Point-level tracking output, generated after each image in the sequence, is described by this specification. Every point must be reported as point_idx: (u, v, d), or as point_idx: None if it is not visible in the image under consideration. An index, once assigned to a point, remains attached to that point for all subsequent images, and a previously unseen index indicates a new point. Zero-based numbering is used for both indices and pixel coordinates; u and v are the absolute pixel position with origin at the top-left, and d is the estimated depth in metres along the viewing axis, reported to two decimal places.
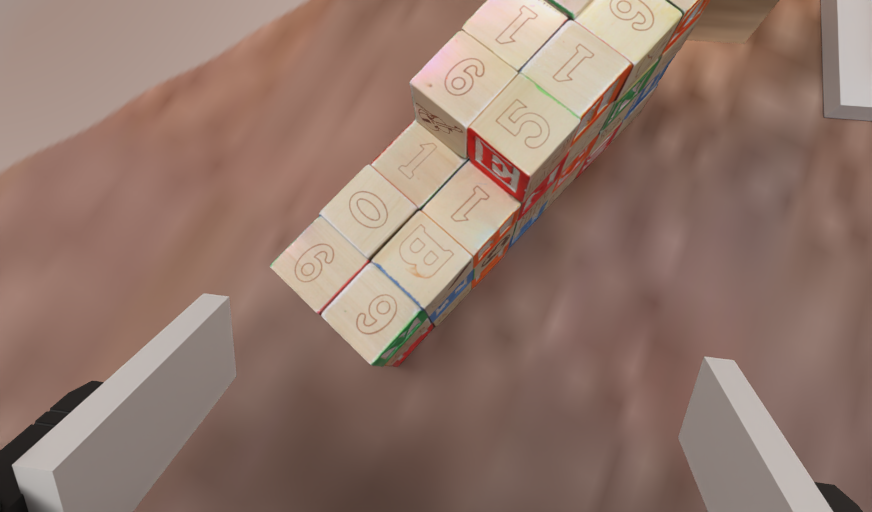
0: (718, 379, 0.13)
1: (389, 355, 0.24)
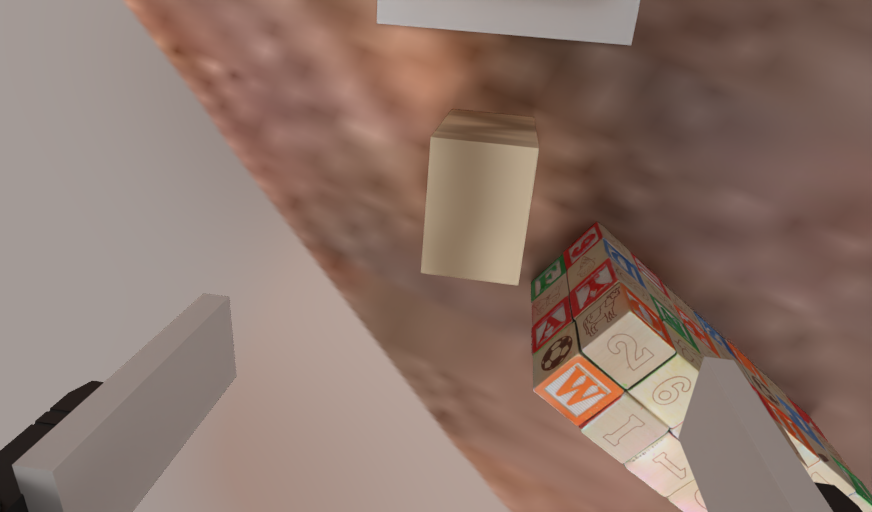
0: (718, 379, 0.13)
1: (856, 480, 0.33)
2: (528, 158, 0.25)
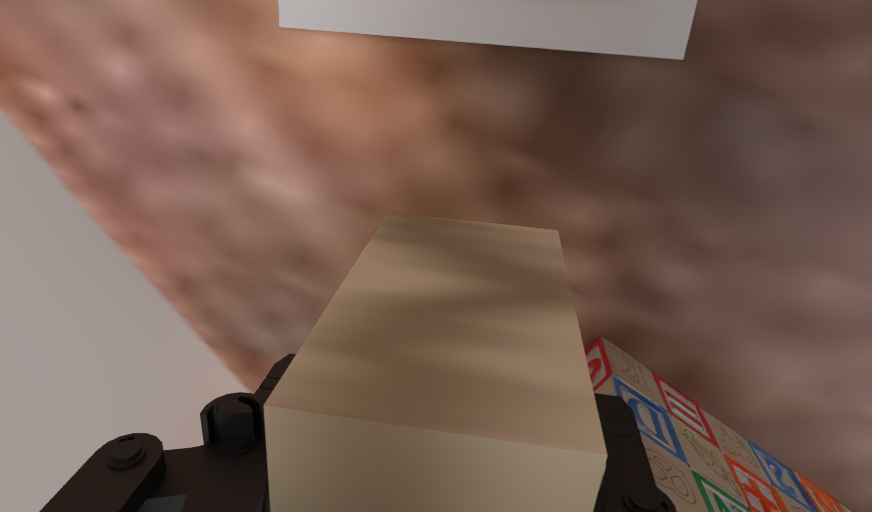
0: None
1: None
2: (571, 477, 0.08)
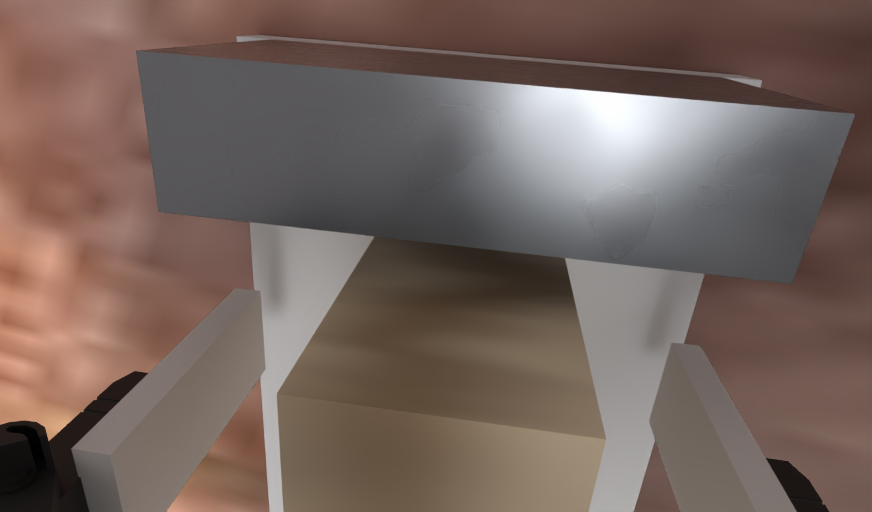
0: (683, 363, 0.14)
1: None
2: (572, 462, 0.08)
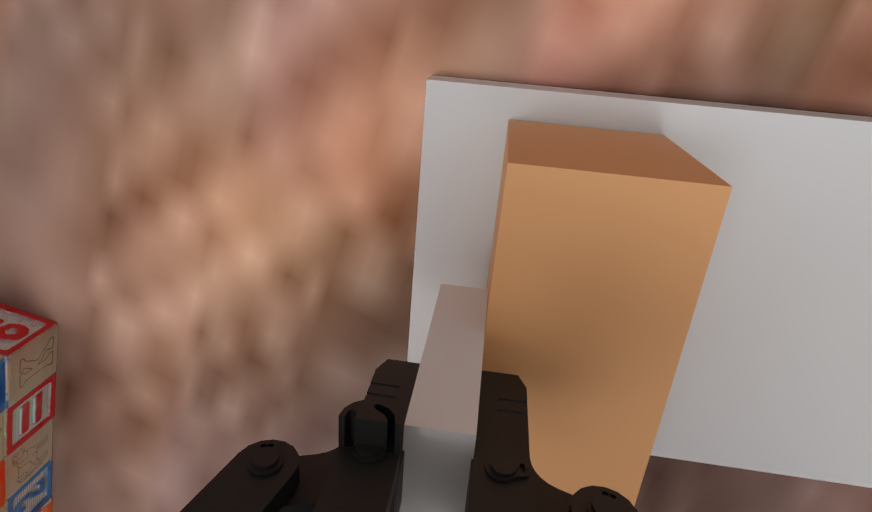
0: (462, 301, 0.16)
1: None
2: None
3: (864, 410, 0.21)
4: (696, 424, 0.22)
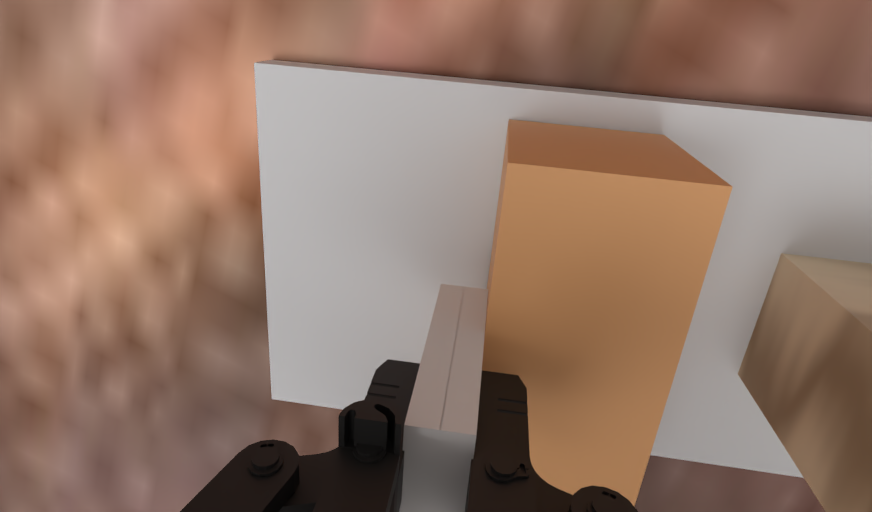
0: (462, 301, 0.16)
1: None
2: None
3: (704, 388, 0.21)
4: None
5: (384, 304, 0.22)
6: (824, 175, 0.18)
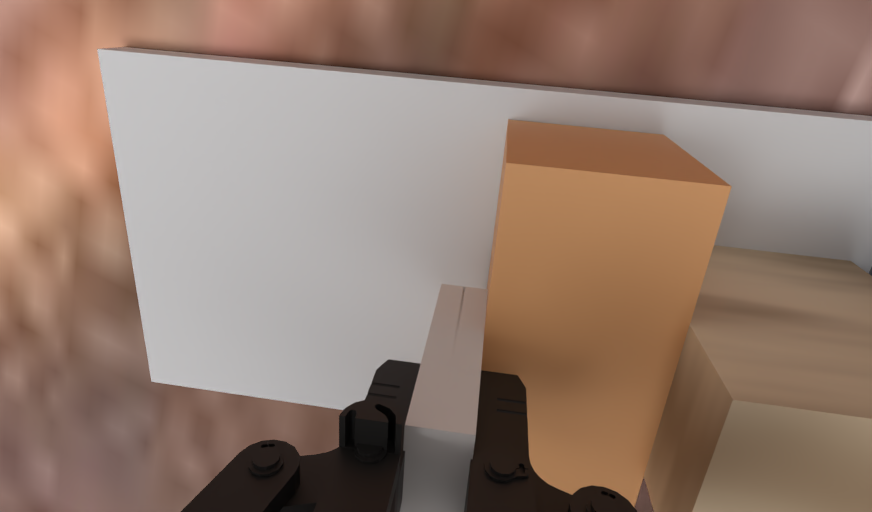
0: (461, 301, 0.16)
1: None
2: None
3: None
4: None
5: (247, 287, 0.22)
6: None
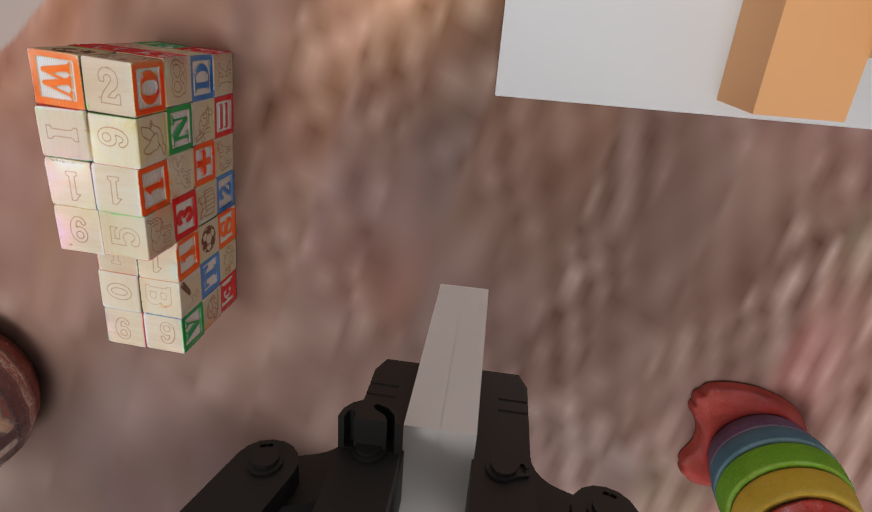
0: (462, 301, 0.16)
1: (200, 329, 0.44)
2: None
3: None
4: (673, 82, 0.37)
5: (578, 16, 0.36)
6: None
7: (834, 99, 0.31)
